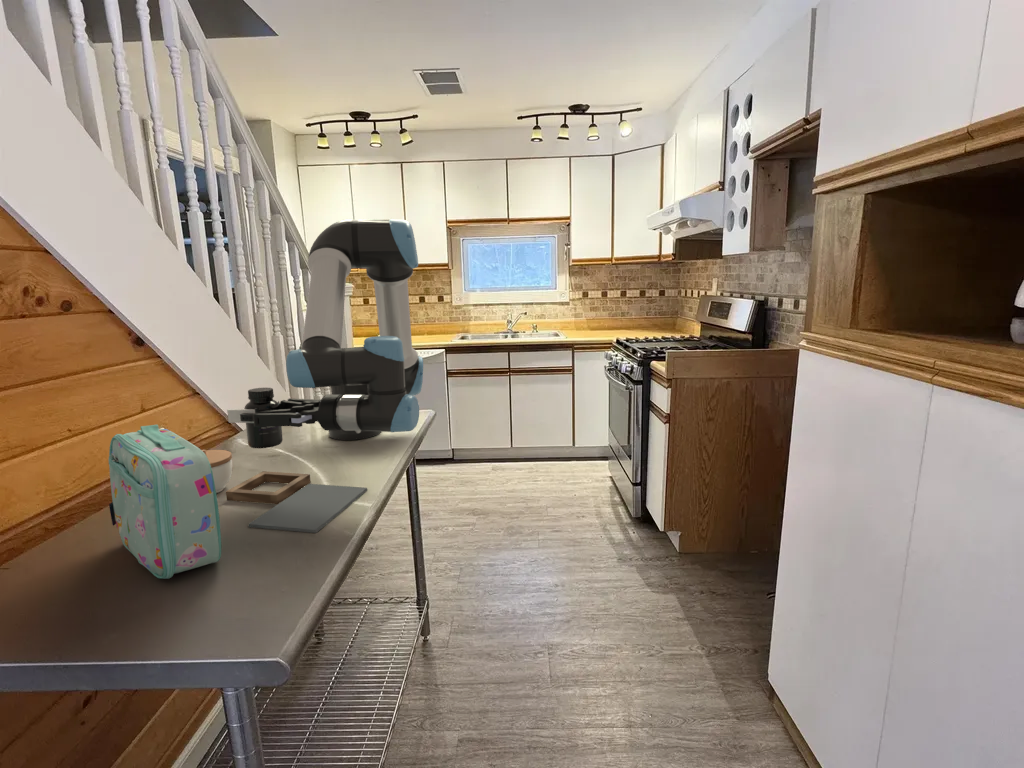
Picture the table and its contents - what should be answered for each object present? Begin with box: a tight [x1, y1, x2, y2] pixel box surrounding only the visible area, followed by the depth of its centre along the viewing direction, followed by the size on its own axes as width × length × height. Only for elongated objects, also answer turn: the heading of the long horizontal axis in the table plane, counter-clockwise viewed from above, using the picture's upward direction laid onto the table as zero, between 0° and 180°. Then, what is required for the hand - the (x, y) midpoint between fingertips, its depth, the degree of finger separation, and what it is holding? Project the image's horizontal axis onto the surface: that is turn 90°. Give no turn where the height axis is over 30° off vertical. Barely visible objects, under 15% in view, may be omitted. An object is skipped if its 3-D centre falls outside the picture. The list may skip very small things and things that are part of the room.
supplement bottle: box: [243, 387, 284, 449], centre depth 113 cm, size 7×7×12 cm
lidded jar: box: [201, 449, 233, 494], centre depth 117 cm, size 11×11×9 cm
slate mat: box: [248, 483, 368, 534], centre depth 108 cm, size 20×14×1 cm
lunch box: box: [108, 424, 222, 580], centre depth 89 cm, size 27×10×21 cm, turn 50°
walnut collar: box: [225, 470, 312, 505], centre depth 117 cm, size 12×12×2 cm
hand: (240, 411), depth 113 cm, fingers closed on supplement bottle, 7 cm apart
